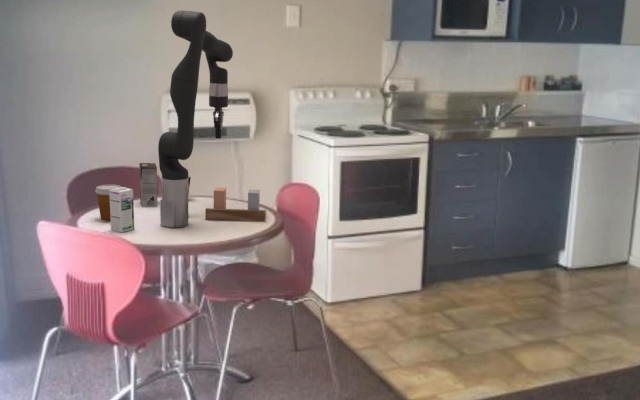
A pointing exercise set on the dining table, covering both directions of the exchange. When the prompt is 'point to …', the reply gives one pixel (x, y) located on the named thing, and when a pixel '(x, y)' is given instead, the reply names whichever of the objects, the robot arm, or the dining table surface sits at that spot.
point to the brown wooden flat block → (235, 215)
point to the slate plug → (253, 199)
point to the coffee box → (148, 184)
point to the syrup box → (121, 209)
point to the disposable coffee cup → (104, 200)
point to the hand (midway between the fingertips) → (218, 138)
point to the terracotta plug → (219, 198)
